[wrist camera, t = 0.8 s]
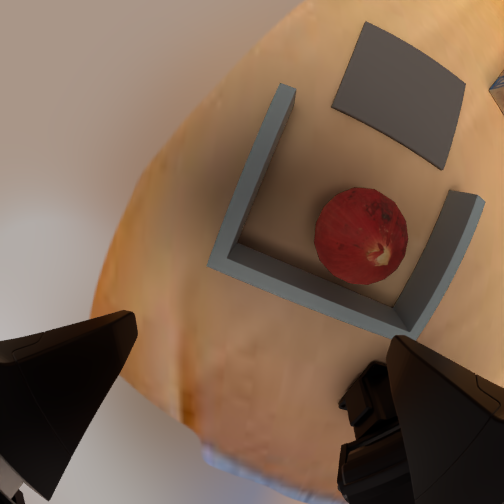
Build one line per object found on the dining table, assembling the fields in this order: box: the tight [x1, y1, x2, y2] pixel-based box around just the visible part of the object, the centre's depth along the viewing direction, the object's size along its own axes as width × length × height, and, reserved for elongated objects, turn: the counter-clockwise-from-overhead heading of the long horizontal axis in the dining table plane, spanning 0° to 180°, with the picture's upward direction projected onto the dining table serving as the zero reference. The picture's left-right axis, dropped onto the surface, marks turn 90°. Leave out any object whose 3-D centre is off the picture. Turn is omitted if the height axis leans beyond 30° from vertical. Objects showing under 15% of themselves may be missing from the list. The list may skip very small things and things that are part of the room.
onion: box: [314, 187, 408, 285], centre depth 16 cm, size 6×6×8 cm
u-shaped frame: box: [207, 83, 485, 341], centre depth 17 cm, size 16×12×4 cm
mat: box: [331, 22, 466, 170], centre depth 16 cm, size 10×9×1 cm
